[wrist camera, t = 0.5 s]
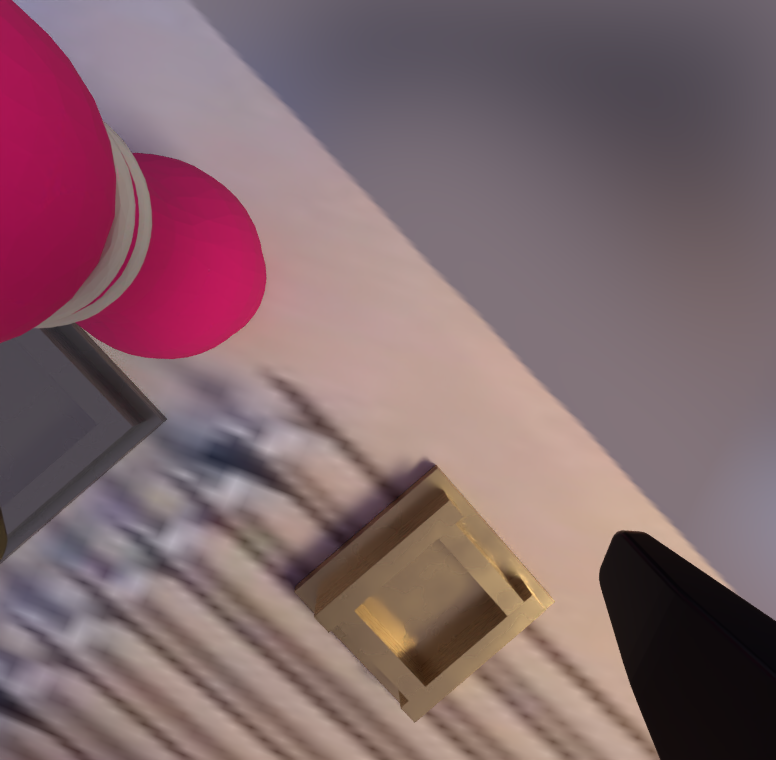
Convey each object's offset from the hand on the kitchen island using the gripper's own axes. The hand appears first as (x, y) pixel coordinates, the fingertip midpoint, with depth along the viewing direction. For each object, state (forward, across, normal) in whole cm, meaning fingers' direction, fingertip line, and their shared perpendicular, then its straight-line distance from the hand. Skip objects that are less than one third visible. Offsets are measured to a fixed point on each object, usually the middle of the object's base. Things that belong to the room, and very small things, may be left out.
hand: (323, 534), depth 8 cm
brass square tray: (+12, -5, +15) cm, 20 cm away
